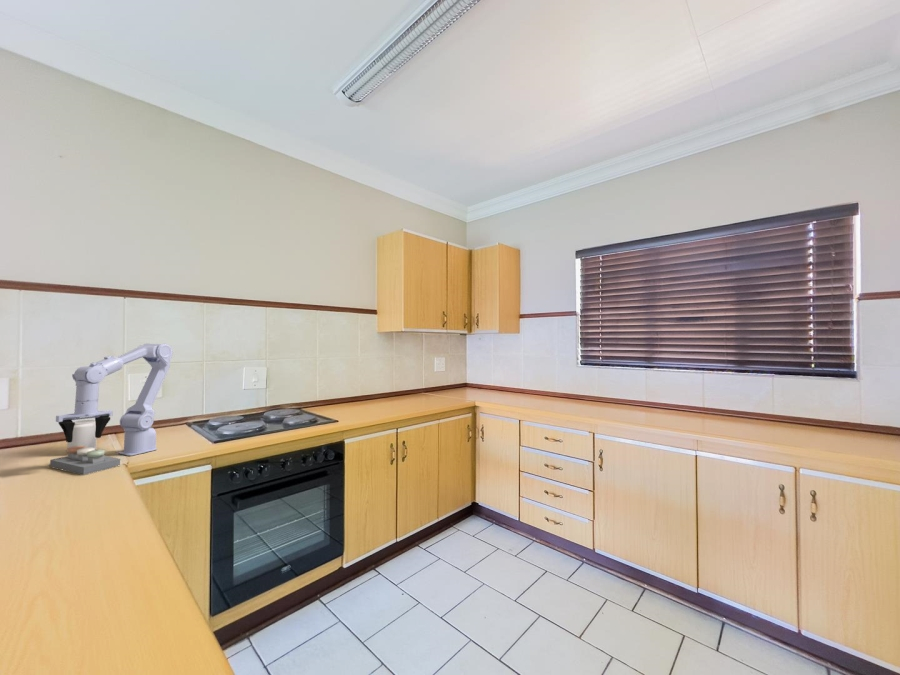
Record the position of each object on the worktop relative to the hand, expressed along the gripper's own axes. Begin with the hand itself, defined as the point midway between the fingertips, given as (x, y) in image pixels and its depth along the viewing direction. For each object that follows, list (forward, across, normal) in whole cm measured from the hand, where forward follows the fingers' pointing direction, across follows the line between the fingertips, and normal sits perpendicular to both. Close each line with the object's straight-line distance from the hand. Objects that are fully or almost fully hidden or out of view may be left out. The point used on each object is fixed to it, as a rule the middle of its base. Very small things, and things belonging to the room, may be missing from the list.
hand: (83, 439), depth 128 cm
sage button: (+8, +1, -6) cm, 10 cm away
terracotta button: (+8, +1, +6) cm, 10 cm away
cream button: (+8, +1, 0) cm, 8 cm away
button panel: (+10, +1, 0) cm, 10 cm away
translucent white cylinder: (+9, +9, +23) cm, 26 cm away
